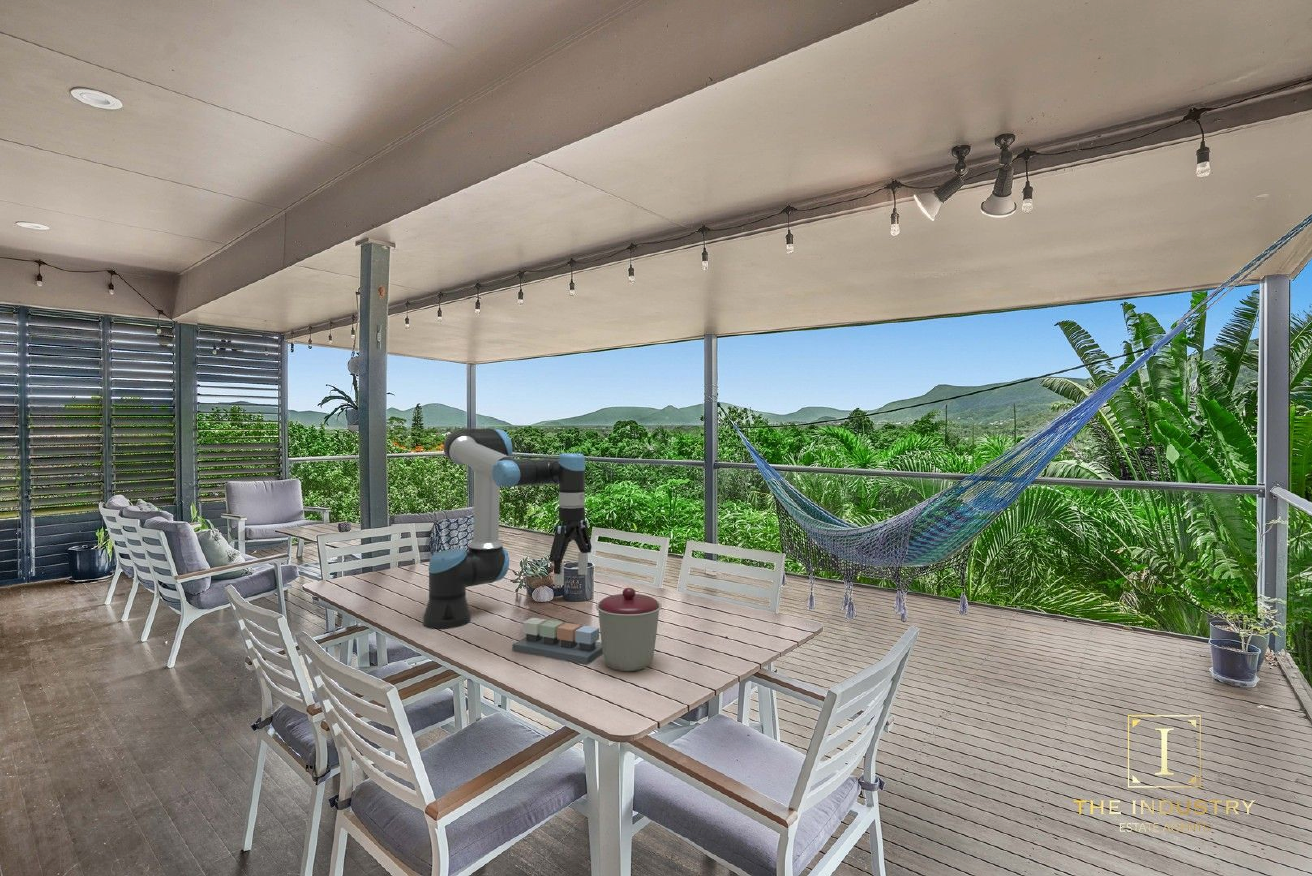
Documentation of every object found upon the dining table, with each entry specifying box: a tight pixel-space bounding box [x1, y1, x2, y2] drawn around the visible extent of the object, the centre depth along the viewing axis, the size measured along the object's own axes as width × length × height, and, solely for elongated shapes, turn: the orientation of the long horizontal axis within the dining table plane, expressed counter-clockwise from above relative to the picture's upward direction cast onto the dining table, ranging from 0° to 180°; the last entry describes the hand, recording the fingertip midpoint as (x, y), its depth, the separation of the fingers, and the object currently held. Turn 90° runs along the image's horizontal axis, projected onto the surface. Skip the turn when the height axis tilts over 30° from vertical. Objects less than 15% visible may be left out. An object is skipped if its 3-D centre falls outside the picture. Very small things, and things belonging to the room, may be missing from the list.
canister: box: [595, 587, 663, 672], centre depth 164 cm, size 18×18×21 cm
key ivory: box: [522, 617, 547, 635], centre depth 177 cm, size 5×5×3 cm
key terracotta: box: [557, 622, 582, 641], centre depth 173 cm, size 5×5×3 cm
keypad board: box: [511, 634, 603, 665], centre depth 174 cm, size 25×12×4 cm, turn 67°
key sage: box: [540, 620, 565, 638], centre depth 175 cm, size 5×5×3 cm
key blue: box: [575, 625, 600, 645], centre depth 170 cm, size 5×5×3 cm
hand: (571, 579), depth 173 cm, fingers open, 13 cm apart
